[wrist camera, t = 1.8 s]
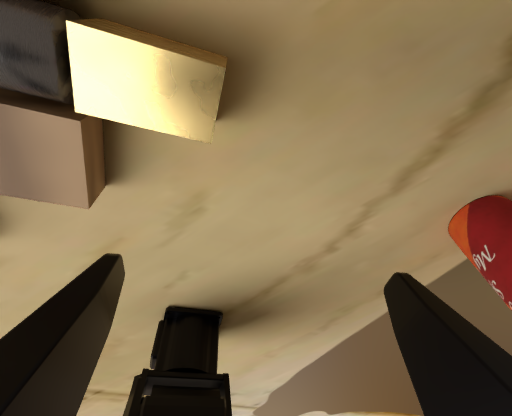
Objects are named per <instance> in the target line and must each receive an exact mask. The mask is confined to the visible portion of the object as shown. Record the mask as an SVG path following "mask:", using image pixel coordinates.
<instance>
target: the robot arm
mask: <svg viewBox="0 0 512 416" xmlns="http://www.w3.org/2000/svg"><path fill="white" fill-rule="evenodd" d="M124 277H125V270H124V265H123V259H122V256H121V255H120V254H110V253H107V254H105V255H103V256H102V257H101V258H100V259H98V260H97V261H96V262H95V263H93V264H92V265H91V266H90V267H88V268H87V269H86V270H85V271H83V272H82V273H81V274H80V275H79V276H77V277H76V278H75V279H74V280H72V281H71V282H70V283H69V284H67V285H66V286H65V287H64V288H63V289H61V290H60V291H59V292H58V293H56V294H55V295H54V296H53V297H51V298H50V299H49V300H48V301H47V302H45V303H44V304H43V305H42V306H40V307H39V308H38V309H37V310H35V311H34V312H33V313H32V314H30V315H29V316H28V317H27V318H26V319H24V320H23V321H22V322H21V323H19V324H18V325H17V326H16V327H14V328H13V329H12V330H11V331H10V332H8V333H7V334H6V335H5V336H3V337H2V338H1V339H0V416H76V415H77V412H78V410H79V407H80V405H81V402H82V400H83V397H84V395H85V392H86V390H87V387H88V385H89V382H90V380H91V377H92V375H93V372H94V370H95V367H96V365H97V362H98V359H99V357H100V354H101V352H102V349H103V347H104V344H105V342H106V339H107V337H108V334H109V331H110V329H111V326H112V322H113V319H114V315H115V311H116V308H117V304H118V300H119V297H120V293H121V289H122V286H123V282H124ZM384 295H385V299H386V303H387V307H388V311H389V314H390V318H391V322H392V326H393V330H394V333H395V336H396V339H397V342H398V345H399V348H400V350H401V353H402V356H403V359H404V362H405V364H406V367H407V370H408V373H409V375H410V378H411V381H412V383H413V386H414V389H415V392H416V394H417V397H418V400H419V403H420V405H421V408H422V411H423V414H424V416H512V356H511V355H510V354H509V353H507V352H506V351H505V350H504V349H502V348H501V347H500V346H499V345H497V344H496V343H495V342H494V341H492V340H491V339H490V338H489V337H487V336H486V335H484V334H483V333H482V332H481V331H480V330H478V329H477V328H476V327H475V326H473V325H472V324H471V323H470V322H468V321H467V320H466V319H464V318H463V317H462V316H461V315H459V314H458V313H457V312H456V311H454V310H453V309H452V308H451V307H450V306H448V305H447V304H446V303H445V302H443V301H442V300H441V299H439V298H438V297H437V296H436V295H435V294H433V293H432V292H431V291H430V290H428V289H427V288H426V287H425V286H423V285H422V284H421V283H420V282H418V281H417V280H416V279H415V278H413V277H412V276H411V275H409V274H408V273H400V272H396V273H394V274H393V275H392V277H391V278H390V279H389V281H388V282H387V284H386V285H385V287H384ZM222 317H223V314H222V313H221V312H214V311H204V310H193V309H183V308H173V307H168V308H166V310H165V316H164V320H161V321H160V322H159V324H158V329H157V333H156V337H155V341H154V345H153V350H152V354H151V360H150V368H151V369H154V370H149V369H144V368H143V371H142V374H140V375H137V376H135V377H134V381H133V385H132V388H131V392H130V395H129V399H128V402H127V405H126V408H125V411H124V414H123V416H232V410H231V397H230V385H229V374H228V373H223V374H217V360H218V338H219V326H220V323H221V321H222ZM144 395H151V396H146V397H144Z"/></svg>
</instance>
